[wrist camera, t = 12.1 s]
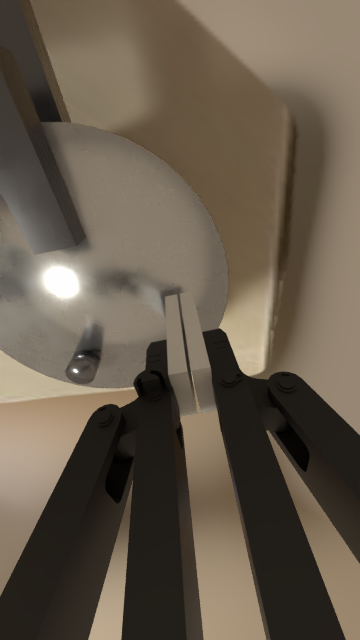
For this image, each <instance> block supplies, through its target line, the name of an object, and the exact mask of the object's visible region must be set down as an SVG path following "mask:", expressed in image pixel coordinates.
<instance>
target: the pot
mask: <svg viewBox="0 0 360 640" xmlns="http://www.w3.org/2000/svg"><path fill="white" fill-rule="evenodd" d="M0 45H1V46H3V47H4V48H6V49H7V50H9V51H10V52H12V53H13V55H14V57H15V60H16V62H17V65H18V67H19V70H20V72H21V75H22V77H23V80H24V82H25V85H26V87H27V90H28V92H29V95H30V97H31V100H32V102H33V105H34V107H35V110H36V112H37V115H38V117H39V120H40V122H68V123H71V120H70V117H69V115H68V112H67V109H66V106H65V103H64V100H63V97H62V94H61V91H60V88H59V85H58V83H57V80H56V77H55V74H54V71H53V68H52V65H51V62H50V59H49V56H48V53H47V51H46V48H45V45H44V42H43V39H42V36H41V33H40V30H39V27H38V24H37V21H36V19H35V16H34V13H33V10H32V7H31V4H30V1H29V0H0Z"/></svg>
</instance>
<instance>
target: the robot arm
mask: <svg viewBox="0 0 360 640" xmlns="http://www.w3.org/2000/svg"><path fill="white" fill-rule="evenodd" d="M180 299H181V306H182V312H183V319H184V324H183V319H182V314H181V310H180V305H179V301H178V296H177V294H175V295H170V296H165V309H166V334H167V339H166V340H161V341H156V342H151V343H150V345H149V346H148V348H147V351H146V366H145V370H144V371H142V372H141V373H139V374H138V375H137V377H136V378H135V380H134V383H133V385H134V387H135V389H136V391H137V394H138V396H139V397H138V398H137V399H136V400H135V401H133V402H131V403H129V404H127V405H125V406H123V407H121V408H119V407H118V406H117V405H113V404H108V405H104V406H102V407H100V408H98V409H97V410H96V411H95V412H94V413H93V414H92V416H91V417H90V419H89V420H88V422H87V425H86V426H85V429H84V431H83V432H82V434H81V436H80V438H79V440H78V442H77V444H76V446H75V448H74V450H73V453H72V455H71V456H70V458H69V460H68V462H67V465H66V466H65V468H64V471H63V473H62V475H61V476H60V478H59V480H58V482H57V484H56V486H55V489H54V490H53V492H52V494H51V496H50V498H49V500H48V502H47V504H46V506H45V508H44V510H43V512H42V514H41V516H40V518H39V520H38V522H37V524H36V526H35V528H34V530H33V533H32V534H31V536H30V539H29V541H28V542H27V544H26V546H25V548H24V550H23V552H22V554H21V556H20V558H19V560H18V562H17V564H16V566H15V568H14V570H13V572H12V574H11V577H10V578H9V580H8V582H7V584H6V586H5V588H4V590H3V592H2V594H1V596H0V640H88V638H89V634H90V631H91V627H92V624H93V620H94V617H95V613H96V609H97V606H98V602H99V599H100V595H101V591H102V588H103V584H104V581H105V577H106V574H107V570H108V567H109V563H110V559H111V555H112V552H113V548H114V545H115V542H116V538H117V534H118V531H119V527H120V523H121V520H122V516H123V513H124V509H125V505H126V502H127V498H128V495H129V491H130V488H131V484H132V481H133V487H132V488H133V489H132V501H131V515H130V529H129V543H128V557H127V570H126V585H125V598H124V612H123V626H122V639H121V640H203V630H202V620H201V610H200V599H199V589H198V579H197V569H196V559H195V550H194V539H193V529H192V519H191V509H190V500H189V489H188V478H187V468H186V458H185V448H184V438H183V429H182V425H181V422H180V415H181V416H186V415H192V414H197V407H196V401H195V394H194V388H193V381H192V376H193V380H194V384H195V389H196V393H197V397H198V401H199V406H200V410H201V413H203V412H208V411H214V410H217V411H218V416H219V422H220V428H221V432H222V436H223V441H224V445H225V450H226V455H227V459H228V464H229V468H230V473H231V478H232V482H233V487H234V492H235V496H236V501H237V506H238V510H239V515H240V519H241V524H242V529H243V533H244V538H245V542H246V547H247V552H248V557H249V561H250V566H251V570H252V575H253V579H254V584H255V589H256V593H257V598H258V603H259V607H260V612H261V616H262V621H263V626H264V630H265V635H266V639H267V640H346V639H345V637H344V634H343V631H342V629H341V626H340V624H339V621H338V618H337V616H336V613H335V611H334V608H333V605H332V602H331V600H330V597H329V595H328V592H327V589H326V587H325V584H324V582H323V579H322V576H321V574H320V571H319V568H318V566H317V563H316V561H315V558H314V555H313V553H312V550H311V547H310V545H309V542H308V540H307V537H306V534H305V532H304V529H303V526H302V524H301V521H300V519H299V516H298V513H297V511H296V508H295V506H294V503H293V500H292V498H291V495H290V492H289V490H288V487H287V484H286V482H285V479H284V477H283V474H282V471H281V469H280V466H279V463H278V461H277V458H276V456H275V453H274V451H273V448H272V445H271V442H270V440H269V437H268V435H267V432H266V430H269V431H270V433H271V434H272V436H273V437H274V439H275V440H276V442H277V443H278V445H279V446H280V448H281V449H282V450H283V452H284V453H285V455H286V456H287V458H288V459H289V461H290V462H291V464H292V465H293V466H294V468H295V469H296V471H297V472H298V474H299V475H300V477H301V478H302V480H303V481H304V483H305V484H306V485H307V487H308V488H309V490H310V491H311V493H312V494H313V496H314V497H315V499H316V500H317V502H318V503H319V505H320V506H321V507H322V509H323V510H324V512H325V513H326V515H327V516H328V518H329V519H330V521H331V522H332V524H333V525H334V526H335V528H336V529H337V531H338V532H339V534H340V535H341V537H342V538H343V540H344V541H345V543H346V544H347V545H348V547H349V548H350V550H351V551H352V553H353V554H354V556H355V557H356V559H357V560H358V562H359V563H360V435H359V434H357V432H356V431H355V430H354V429H353V428H352V427H351V426H350V425H349V424H348V423H347V422H346V421H345V420H344V419H342V417H340V416H339V415H338V414H337V413H336V412H335V411H334V410H333V409H332V408H331V407H330V406H329V405H328V404H327V403H326V402H325V401H324V400H323V399H322V398H321V397H320V396H319V395H318V394H317V393H316V392H315V391H314V390H313V389H312V388H311V387H310V386H309V385H308V384H307V383H306V382H305V381H304V380H303V379H302V378H300V377H299V376H297V375H296V374H293V373H290V372H277V373H275V374H273V375H271V376H270V378H269V379H268V380H266V379H256V378H251V377H249V376H247V375H245V374H244V373H243V372H242V371H241V370H240V368H239V366H238V363H237V361H236V358H235V356H234V353H233V350H232V348H231V345H230V343H229V340H228V337H227V335H226V333H225V332H224V331H222V330H221V329H220V328H219V329H214V330H209V331H204V332H202V331H201V327H200V322H199V318H198V314H197V310H196V306H195V302H194V298H193V294H192V291H190V292H185V293H180ZM184 325H185V328H184ZM185 332H186V334H185ZM186 339H187V341H186ZM187 345H188V347H187ZM188 352H189V354H188ZM189 358H190V361H189ZM190 365H191V367H190ZM191 371H192V374H191Z"/></svg>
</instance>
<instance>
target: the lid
mask: <svg viewBox="0 0 360 640" xmlns="http://www.w3.org/2000/svg"><path fill="white" fill-rule="evenodd" d="M228 290H229V275H228V266H227V260H226V254H225V250H224V247H223V244H222V241H221V237H220V235H219V232H218V230H217V228H216V226H215V224H214V222H213V219H212V217H211V216H210V214H209V212H208V211H207V209H206V208H205V206H204V204H203V203H202V201H201V200H200V198H199V197H198V195H197V194H196V193H195V192H194V190H193V189H192V188H191V187H190V186H189V184H188V183H187V182H186V181H185V180H184V178H183V177H181V176H180V175H179V174H178V173H177V172H176V171H175V170H174V169H173V168H172V167H170V166H169V165H168V164H167V163H166V162H165V161H163V160H162V159H160V158H159V157H157V156H156V155H155V154H153V153H152V152H150V151H149V150H147V149H146V148H144V147H142V146H140V145H138V144H136V143H134V142H132V141H130V140H128V139H126V138H124V137H122V136H119V135H116V134H113V133H110V132H107V131H104V130H101V129H98V128H95V127H91V126H85V125H80V124H74V123H68V122H40V120H39V117H38V115H37V112H36V110H35V107H34V105H33V102H32V100H31V97H30V95H29V92H28V90H27V87H26V85H25V82H24V80H23V77H22V75H21V72H20V70H19V67H18V65H17V62H16V60H15V57H14V55H13V53H12V52H10V51H9V50H7V49H6V48H4V47H3V46H1V45H0V349H1V350H2V351H3V352H5V353H6V354H7V355H9V356H10V357H12V358H13V359H15V360H17V361H18V362H20V363H21V364H23V365H25V366H27V367H29V368H31V369H33V370H35V371H37V372H39V373H42V374H44V375H46V376H49V377H52V378H55V379H58V380H61V381H64V382H68V383H72V384H76V385H81V386H87V387H95V388H126V387H134V385H133V383H134V380H135V378H136V377H137V375H138V374H139V373H141V372H142V371H144V370H145V366H146V351H147V348H148V346H149V345H150V343H151V342H156V341H161V340H166V339H167V334H166V309H165V296H170V295H175V294H177V296H178V301H179V305H180V310H181V314H182V319H183V312H182V306H181V299H180V293H185V292H190V291H192V294H193V298H194V302H195V306H196V310H197V314H198V318H199V322H200V327H201V331H202V332H204V331H209V330H214V329H218V328H219V325H220V323H221V321H222V319H223V315H224V312H225V308H226V305H227V297H228ZM183 324H184V319H183ZM184 328H185V325H184ZM185 334H186V332H185ZM186 341H187V339H186ZM187 347H188V345H187ZM188 354H189V352H188ZM189 361H190V358H189Z"/></svg>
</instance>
